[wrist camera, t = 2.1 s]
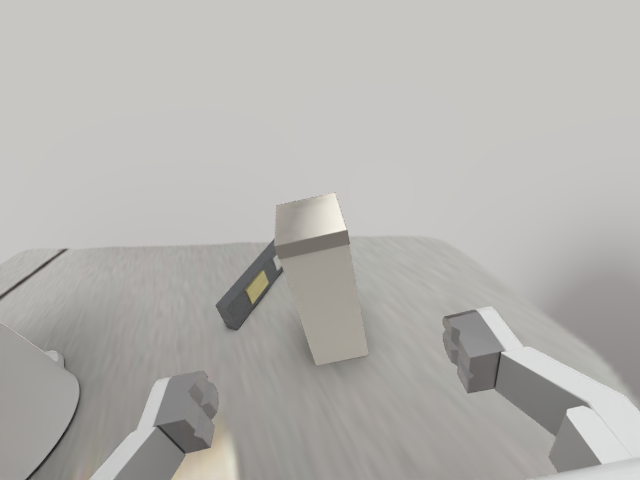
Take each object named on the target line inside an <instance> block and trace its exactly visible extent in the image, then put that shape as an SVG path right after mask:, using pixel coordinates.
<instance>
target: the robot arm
mask: <svg viewBox="0 0 640 480" xmlns="http://www.w3.org/2000/svg"><path fill="white" fill-rule="evenodd" d="M443 326H444V328H445V329H446V330H445V331H444V333H443V342H444V346H445V350H446V352H447V355H448V357H449V359H450V361H451V362H452V363H454V364H455V365H457V366H458V370H457V374H458V376H459V378H460V380H461V382H462V384H463V386H464V388H465V390H466V392H467V393H473V392H478V391H484V390H489V389H495V390H496V391H497V392H498V393H500V394H501V395H502V396H504V397H505V398H506V399H507V400H509V401H510V402H511V403H513V404H514V405H515V406H517V407H518V408H519V409H521V410H522V411H523V412H524V413H526V414H527V415H528V416H530V417H531V418H532V419H534V420H535V421H536V422H537V423H539V424H540V425H541V426H543V427H544V428H545V429H547V430H548V431H549V432H550V433H552V434H553V435H554V436H556V438H555V441H554V443H553V446H552V448H551V451H550V454H549V459H550V460H551V462H552V464H553V465H554V467H555V468H556V470H557V472H558V473H555V474H550V475H545V476H540V477H535V478H530V479H525V480H640V411H639V410H638V409H637V408H636V407H635V406H634V405H633V404H632V403H631V402H630V401H629V400H628V399H627V398H626V396H624V395H622V394H620V393H618V392H616V391H615V390H613V389H611V388H609V387H607V386H605V385H603V384H601V383H599V382H597V381H595V380H593V379H591V378H589V377H588V376H586V375H584V374H582V373H580V372H578V371H576V370H574V369H572V368H570V367H568V366H566V365H564V364H563V363H561V362H559V361H557V360H555V359H553V358H551V357H549V356H547V355H545V354H543V353H541V352H539V351H537V350H536V349H534V348H532V347H530V346H528V347H524V346H523V345H522V344H521V342H520V341H519V340H518V338H517V337H516V336H515V335H514V333H513V332H512V331H511V330H510V328H509V327H508V326H507V324H506V323H505V322H504V321H503V319H502V318H501V317H500V316H499V314H498V313H497V312H496V310H495V309H494V308H492V307H491V306H489V307H485V308H480V309H476V310H470V311H466V312H461V313H457V314H453V315H449V316H444V318H443ZM207 378H208V376H207V374H206V373H205V372H204V371H199V372H194V373H188V374H183V375H178V376H173V377H168V378H163V379H159V380H157V381H156V382H155V384H154V385H153V388H152V390H151V393H150V395H149V398H148V401H147V403H146V406H145V408H144V411H143V414H142V416H141V419H140V421H139V424H138V427H137V429H136V431H133V432H131V433H130V434H129V435H128V436H127V437H126V439H125V440H124V441H123V442H122V443H121V444H120V445H119V446H118V448H117V449H116V450H115V451H114V452H113V453H112V454H111V455H110V456H109V458H108V459H107V460H106V461H105V462H104V463H103V464H102V465H101V466H100V468H99V469H98V470H97V471H96V472H95V473H94V474H93V475H92V477H91V478H90V479H89V480H171V478H172V477H173V475H174V473H175V472H176V470H177V469H178V467H179V465H180V464H181V462H182V461H183V459H184V457H185V456H186V455H185V454H187V453H191V452H195V451H199V450H203V449H207V448H211V443H212V438H213V432H214V427H215V426H214V424H213V422H212V419H213V417H214V416H215V414H216V413H217V410H218V404H219V401H218V392H217V389H216V387H215V386H214V384H213V383H210V382H208V381H207ZM78 399H79V383H78V380H77V379H76V377H75V376H74V375H73V374H72V373H70V372H69V371H67V370H66V369H65V368H64V358H63V356H62V355H61V354H60V353H59V352H57V351H56V350H50V351H47V352H44V351H42V350H41V349H39V348H38V347H37V346H35V345H34V344H32V343H31V342H30V341H28V340H27V339H25V338H24V337H22V336H21V335H20V334H18V333H17V332H15V331H14V330H12V329H11V328H9V327H8V326H7V325H5V324H4V323H2V322H0V480H25V479H26V478H27V477H28V476H29V475H30V474H31V473H32V472H33V471H34V470H35V469H36V468H37V467H38V466H39V464H40V463H41V462H42V461H43V460H44V459H45V457H46V456H47V455H48V454H49V452H50V451H51V450H52V449H53V447H54V446H55V444H56V443H57V442H58V440H59V439H60V437H61V436H62V434H63V433H64V431H65V429H66V428H67V426H68V424H69V422H70V420H71V418H72V416H73V414H74V411H75V409H76V406H77V403H78Z"/></svg>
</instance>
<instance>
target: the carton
mask: <svg viewBox="0 0 640 480" xmlns="http://www.w3.org/2000/svg"><path fill="white" fill-rule="evenodd" d="M349 244H350V242H349V236H348V231H347V227H346V224H345V221H344V218H343V215H342V212H341V209H340V206H339V203H338V199H337V196H336V193H335V192H334V193H330V194H325V195H321V196H316V197H312V198H307V199H303V200H298V201H294V202H290V203H285V204H280V205H276V219H275V241H274V247H275V250H276V253H277V256H278V258H279V260H280V262H281V265H282V268H283V270H284V273H285V276H286V279H287V282H288V285H289V288H290V291H291V294H292V297H293V300H294V303H295V306H296V309H297V312H298V314H299V317H300V320H301V323H302V326H303V329H304V332H305V335H306V338H307V341H308V344H309V347H310V350H311V353H312V355H313V358H314V361H315V364H316V366H319V365H324V364H328V363H333V362H338V361H343V360H348V359H352V358H357V357H362V356H367V355H369V353H368V347H367V342H366V336H365V331H364V325H363V319H362V314H361V308H360V303H359V297H358V291H357V286H356V280H355V274H354V269H353V263H352V258H351V252H350V246H349Z"/></svg>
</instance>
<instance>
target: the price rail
mask: <svg viewBox="0 0 640 480" xmlns="http://www.w3.org/2000/svg"><path fill="white" fill-rule="evenodd" d="M274 241H275V238H274V240H273V241H272V242H271V243H270V244H269V245H268V246H267V248H266V249H265V250H264V251H263V252H262V253H261V254H260V255H259V257H258V258H257V259H256V260H255V261H254V262H253V263H252V265H251V266H250V267H249V268H248V269H247V270H246V271H245V273H244V274H243V275H242V276H241V277H240V278H239V279H238V280H237V282H236V283H235V284H234V285H233V286H232V287H231V288H230V290H229V291H228V292H227V293H226V294H225V295H224V296H223V297H222V299H221V300H220V301H219V302H218V303H217V304H216V305H215V306H216V307H217V309H218V311H219V313H220V315H221V317H222V318H223V320H224V322H225V324H226V326H227V327H229V328H232V329H236V330H238V329H239V327H240V326H241V325H242V323H243V322H244V321H245V319H246V318H247V317H248V315H249V314H250V313H251V311H252V310H253V309H254V307H255V306H256V305H257V303H258V302H259V301H260V299H261V298H262V297H263V296H264V294H265V293H266V292H267V290H268V289H269V288H270V286H271V285H272V284H273V282H274V281H275V280H276V278H277V277H278V276H279V274H280V273H281V272H282V270H283V268H282V265H281V262H280V260H279V258H278V256H277V253H276V250H275V247H274Z"/></svg>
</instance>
